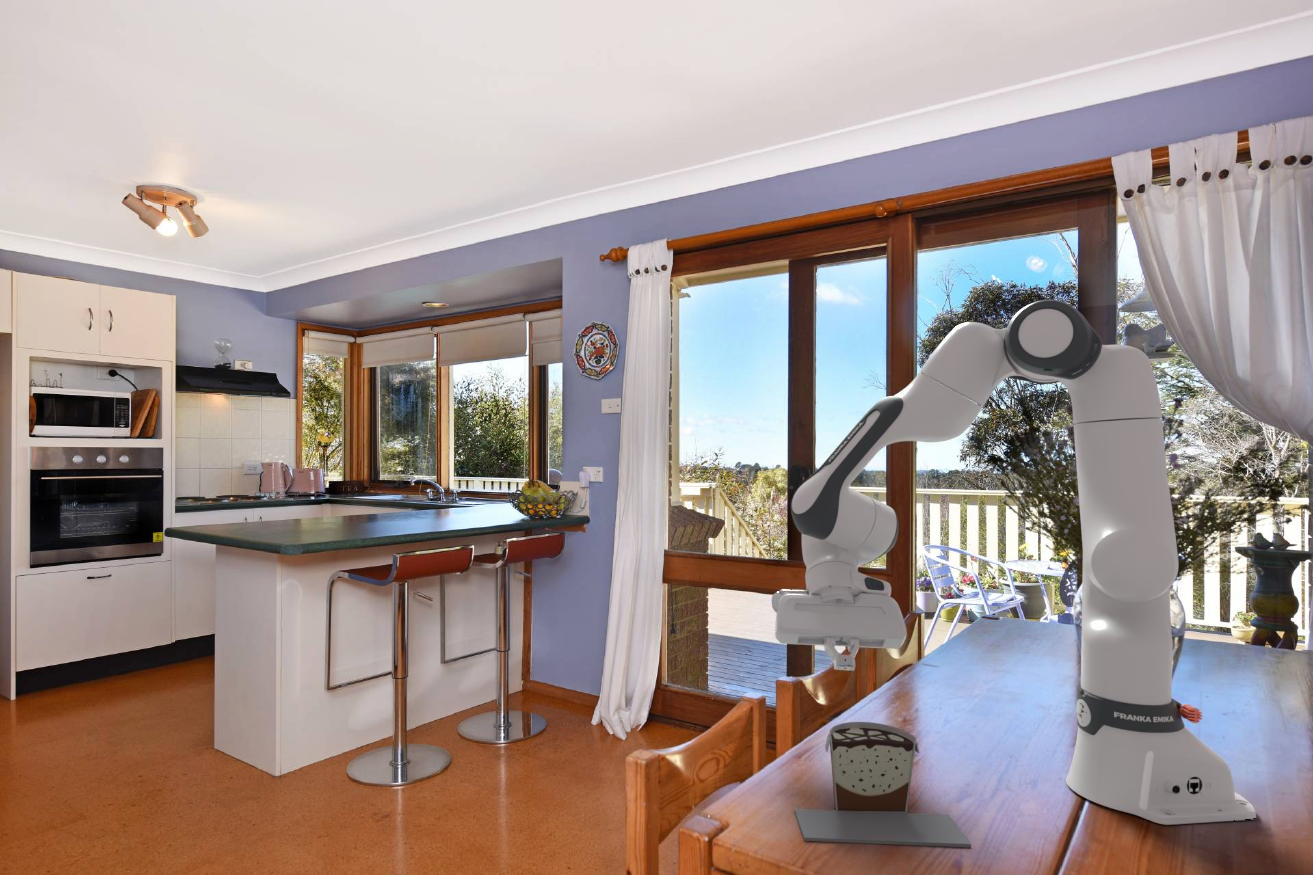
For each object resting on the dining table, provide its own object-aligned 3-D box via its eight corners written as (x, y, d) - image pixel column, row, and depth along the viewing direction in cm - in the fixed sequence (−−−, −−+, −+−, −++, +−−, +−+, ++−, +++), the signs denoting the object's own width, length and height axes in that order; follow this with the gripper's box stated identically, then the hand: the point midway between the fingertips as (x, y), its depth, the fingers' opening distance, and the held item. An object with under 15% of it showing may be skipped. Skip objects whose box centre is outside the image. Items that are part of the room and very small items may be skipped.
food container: (901, 793, 107) (903, 720, 107) (918, 814, 101) (919, 737, 101) (813, 791, 106) (815, 719, 107) (825, 812, 100) (826, 735, 100)
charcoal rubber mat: (948, 817, 100) (948, 814, 100) (970, 847, 92) (970, 843, 92) (794, 811, 100) (794, 808, 100) (804, 840, 93) (804, 837, 93)
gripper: (773, 577, 124) (778, 654, 115) (900, 583, 124) (916, 660, 114) (768, 600, 129) (774, 675, 119) (891, 605, 128) (906, 681, 118)
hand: (845, 668), depth 116 cm, fingers closed
